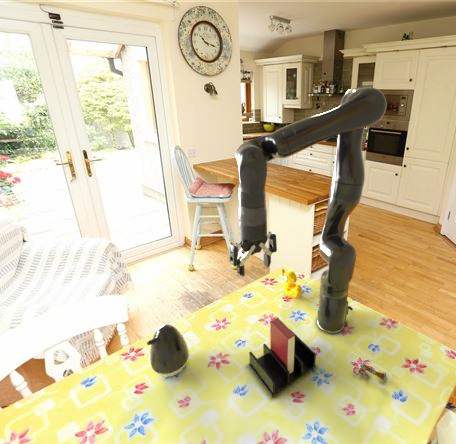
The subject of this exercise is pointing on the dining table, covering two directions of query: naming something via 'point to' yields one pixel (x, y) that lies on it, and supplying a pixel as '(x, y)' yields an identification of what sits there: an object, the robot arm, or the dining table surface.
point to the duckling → (291, 284)
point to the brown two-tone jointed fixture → (372, 371)
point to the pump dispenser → (168, 351)
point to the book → (282, 343)
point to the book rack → (282, 367)
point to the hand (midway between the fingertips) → (254, 270)
